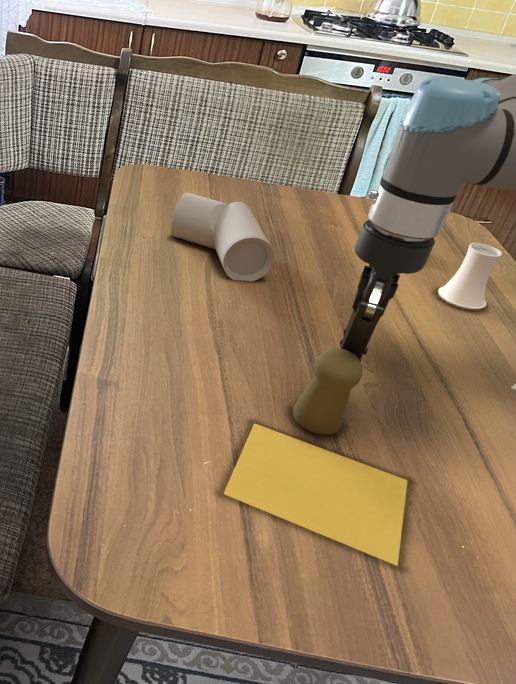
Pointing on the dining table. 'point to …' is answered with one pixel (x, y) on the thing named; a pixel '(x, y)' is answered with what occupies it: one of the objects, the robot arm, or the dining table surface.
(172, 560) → the dining table surface
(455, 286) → the vase
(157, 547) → the dining table surface
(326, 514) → the yellow cloth
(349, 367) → the cork
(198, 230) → the bent grey cylinder
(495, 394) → the dining table surface
